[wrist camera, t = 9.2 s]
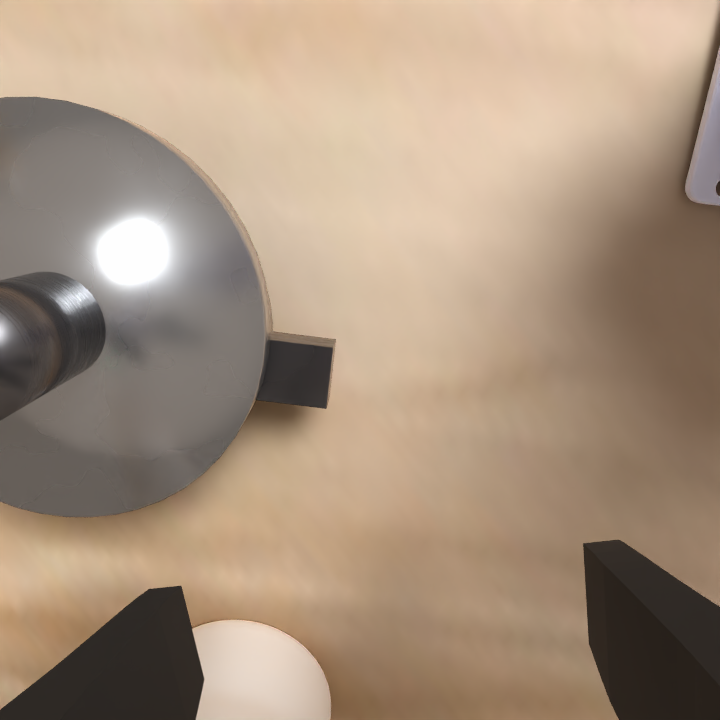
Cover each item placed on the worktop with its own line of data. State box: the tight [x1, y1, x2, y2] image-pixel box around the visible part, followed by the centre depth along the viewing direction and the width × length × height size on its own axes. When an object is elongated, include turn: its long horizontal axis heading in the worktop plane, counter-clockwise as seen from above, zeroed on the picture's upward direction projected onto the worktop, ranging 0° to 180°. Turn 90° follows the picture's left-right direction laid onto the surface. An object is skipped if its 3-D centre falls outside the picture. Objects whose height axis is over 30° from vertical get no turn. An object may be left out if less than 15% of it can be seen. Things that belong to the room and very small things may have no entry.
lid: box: [0, 97, 271, 517], centre depth 15 cm, size 11×11×5 cm
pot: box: [256, 292, 336, 409], centre depth 19 cm, size 14×10×4 cm
